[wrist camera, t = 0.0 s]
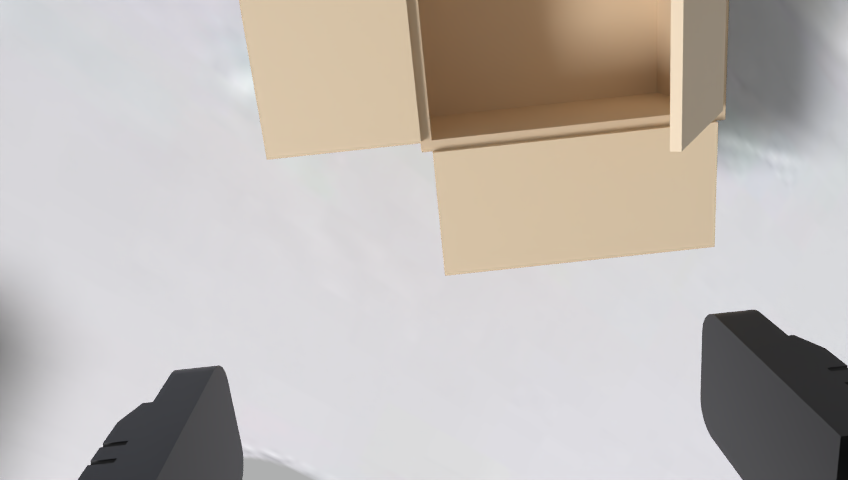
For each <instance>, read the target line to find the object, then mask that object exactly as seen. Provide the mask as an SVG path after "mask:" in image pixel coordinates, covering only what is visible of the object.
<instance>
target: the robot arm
mask: <svg viewBox="0 0 848 480" xmlns="http://www.w3.org/2000/svg"><path fill="white" fill-rule="evenodd" d="M701 408H702V414H703V418H704V421H705V424H706V427H707V430H708V432H709V434H710V435H711V437H712V439H713V440H714V441H715V443H716V444H717V445H718V447H719V448H720V449H721V451H722V452H723V454H724V455H725V456H726V458H727V459H728V460H729V462H730V463H731V464H732V466H733V467H734V468H735V470H736V471H737V473H738V474H739V475H740V477H741V478H742V479H743V480H848V368H847V365H846V364H844V363H843V362H842V361H841V360H839V359H838V358H837V357H836V356H834V355H833V354H832V353H830V352H829V351H828V350H827V349H825V348H823V347H821V346H818V345H816V344H814V343H811V342H809V341H807V340H804V339H802V338H799V337H797V336H795V335H790V336H788V335H787V334H785V333H784V332H783V331H782V330H781V329H779V328H778V327H777V326H776V325H775V324H773V323H772V322H771V321H770V320H768V319H767V318H766V317H765V316H764V315H762V314H761V313H760V312H759V311H757V310H746V311H737V312H727V313H718V314H709V315H707V317H706V318H705V320H704V323H703V330H702V364H701ZM242 476H243V451H242V445H241V440H240V435H239V431H238V426H237V421H236V417H235V412H234V407H233V403H232V398H231V393H230V389H229V384H228V380H227V376H226V373H225V371H224V369H223V368H222V367H221V366H211V367H201V368H192V369H182V370H175V371H173V372H172V373H171V375H170V376H169V378H168V380H167V381H166V383H165V384H164V386H163V387H162V389H161V390H160V392H159V394H158V395H157V397H156V398H155V400H154V401H153V402H150V403H142V404H141V405H140V406H138V407H137V408H136V409H135V410H133V411H132V412H131V413H129V414H128V415H127V416H125V417H124V418H123V419H121V420H120V421H119V422H118V423H117V424H116V425H115V427H114V428H113V430H112V431H111V433H110V434H109V435H108V437H107V438H106V440H105V441H104V443H103V447H101V448H99V450H98V451H97V453H96V454H95V456H94V457H93V458H92V460H91V465H88V466H87V467H86V469H85V470H84V471H83V473H82V474H81V476H80V477H79V479H78V480H242Z"/></svg>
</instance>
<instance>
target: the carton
mask: <svg viewBox="0 0 848 480" xmlns="http://www.w3.org/2000/svg"><path fill="white" fill-rule="evenodd" d="M239 3H240V9H241V15H242V20H243V26H244V32H245V38H246V43H247V49H248V55H249V60H250V66H251V72H252V77H253V83H254V89H255V95H256V100H257V106H258V112H259V117H260V123H261V129H262V134H263V140H264V146H265V151H266V157H267V160H268V159H278V158H287V157H296V156H306V155H315V154H324V153H333V152H343V151H352V150H361V149H371V148H380V147H389V146H398V145H408V144H417V143H421V150H422V152H429V151H433V159H434V169H435V179H436V189H437V199H438V209H439V219H440V229H441V239H442V249H443V259H444V269H445V276H447V275H456V274H466V273H475V272H484V271H493V270H503V269H512V268H521V267H531V266H540V265H549V264H559V263H568V262H577V261H587V260H596V259H605V258H614V257H624V256H633V255H642V254H652V253H661V252H670V251H680V250H689V249H698V248H707V247H714V246H715V212H716V177H717V143H718V122H716V121H717V120H725V109H726V78H727V47H728V16H729V0H726V28H725V60H724V92H723V111H722V112H721V113H720V114H719V115H718V116H717V117H716V118H715V119H714V120H713V121H712V122H711V123H710V124H709V125H708V126H707V127H706V128H705V129H704V130H703V131H702V132H701V133H700V134H699V135H698V136H697V137H696V138H695V139H694V140H693V141H692V142H691V143H690V144H689V145H688V146H687V147H686V148H685V149H684V150H683V151H682V152H670V57H671V0H239Z"/></svg>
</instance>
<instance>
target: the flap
mask: <svg viewBox="0 0 848 480" xmlns="http://www.w3.org/2000/svg"><path fill="white" fill-rule="evenodd" d="M725 28H726V0H671V57H670V152H682V151H683V150H684V149H685V148H686V147H687V146H688V145H689V144H690V143H691V142H692V141H693V140H694V139H695V138H696V137H697V136H698V135H699V134H700V133H701V132H702V131H703V130H704V129H705V128H706V127H707V126H708V125H709V124H710V123H711V122H712V121H713V120H714V119H715V118H716V117H717V116H718V115H719V114H720V113H721V112H722V111H723V92H724V60H725Z"/></svg>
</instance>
